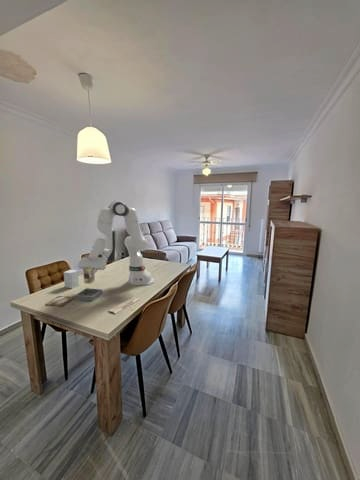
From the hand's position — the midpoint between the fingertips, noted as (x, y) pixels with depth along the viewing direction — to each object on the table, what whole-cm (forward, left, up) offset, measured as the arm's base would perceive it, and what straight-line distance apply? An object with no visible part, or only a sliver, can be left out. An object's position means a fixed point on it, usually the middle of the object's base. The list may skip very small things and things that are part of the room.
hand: (88, 274), depth 141 cm
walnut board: (+14, +11, -17) cm, 24 cm away
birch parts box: (0, -1, -6) cm, 6 cm away
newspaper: (-31, +7, -18) cm, 36 cm away
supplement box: (+24, -14, -17) cm, 33 cm away
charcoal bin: (0, 0, -17) cm, 16 cm away
